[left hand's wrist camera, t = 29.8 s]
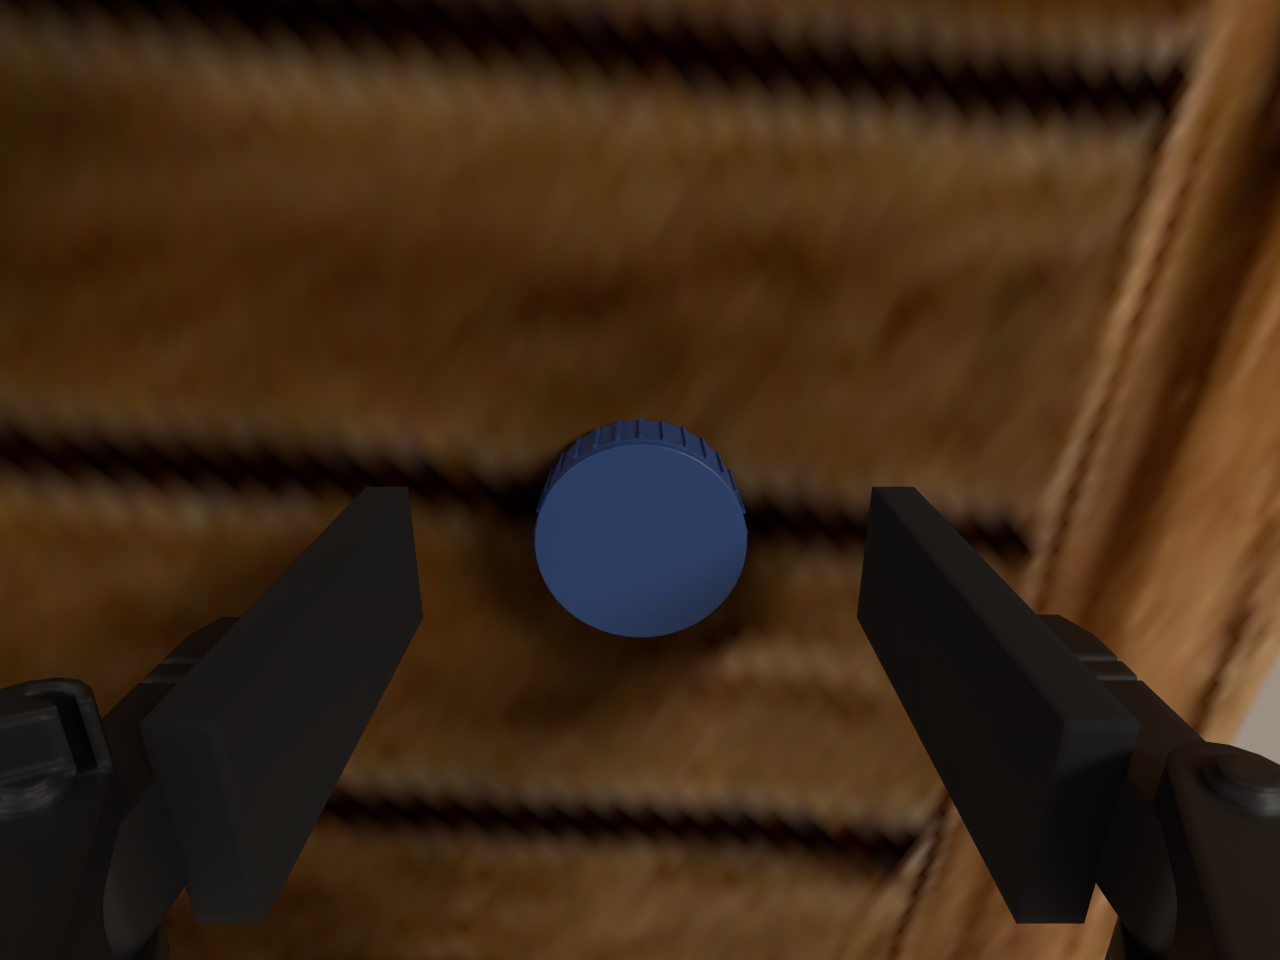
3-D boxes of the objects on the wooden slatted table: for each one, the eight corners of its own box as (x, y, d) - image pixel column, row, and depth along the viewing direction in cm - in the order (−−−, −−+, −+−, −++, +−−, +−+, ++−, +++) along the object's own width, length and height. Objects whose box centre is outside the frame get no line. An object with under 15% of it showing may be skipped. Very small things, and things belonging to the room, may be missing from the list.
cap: (671, 629, 17) (675, 673, 15) (507, 541, 16) (492, 578, 15) (778, 481, 16) (793, 512, 14) (604, 378, 15) (601, 399, 13)
